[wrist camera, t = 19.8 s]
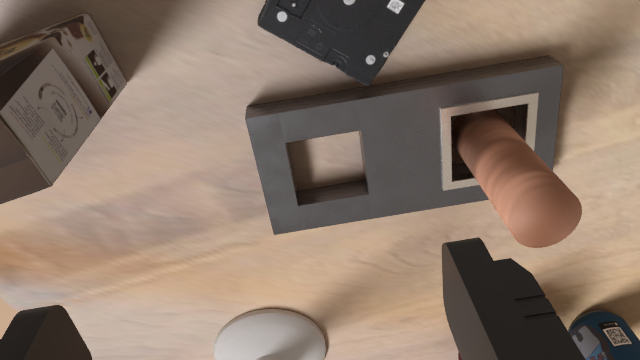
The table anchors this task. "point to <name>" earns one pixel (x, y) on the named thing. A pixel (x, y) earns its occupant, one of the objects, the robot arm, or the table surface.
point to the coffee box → (51, 101)
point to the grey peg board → (398, 140)
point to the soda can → (604, 337)
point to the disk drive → (342, 30)
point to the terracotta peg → (516, 180)
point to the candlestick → (270, 337)
